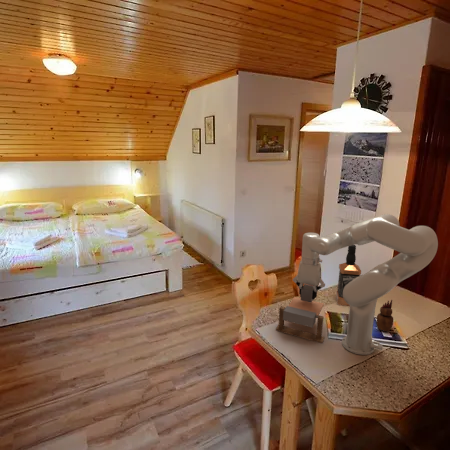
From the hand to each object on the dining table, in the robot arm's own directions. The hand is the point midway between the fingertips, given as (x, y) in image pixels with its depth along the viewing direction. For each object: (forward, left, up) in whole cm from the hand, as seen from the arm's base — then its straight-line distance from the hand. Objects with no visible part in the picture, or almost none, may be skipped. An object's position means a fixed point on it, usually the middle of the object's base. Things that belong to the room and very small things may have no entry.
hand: (307, 296), depth 149 cm
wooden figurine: (-33, -12, -14) cm, 38 cm away
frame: (0, +10, -14) cm, 17 cm away
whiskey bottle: (-14, -32, -14) cm, 38 cm away
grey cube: (0, 0, -1) cm, 1 cm away
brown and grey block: (0, +5, -6) cm, 8 cm away
